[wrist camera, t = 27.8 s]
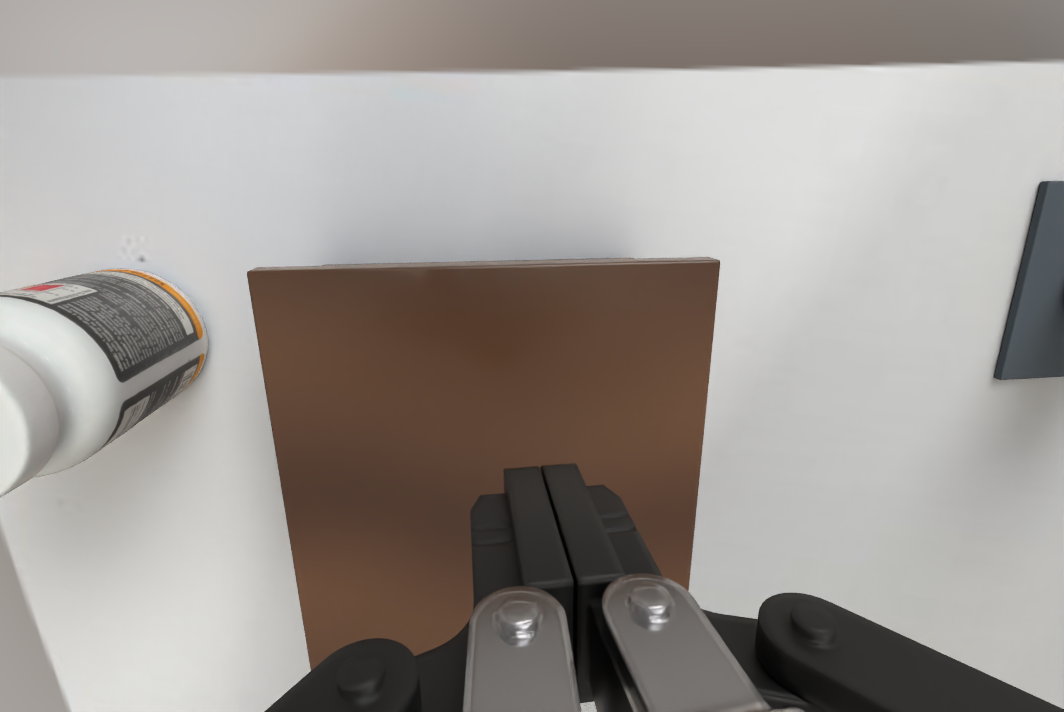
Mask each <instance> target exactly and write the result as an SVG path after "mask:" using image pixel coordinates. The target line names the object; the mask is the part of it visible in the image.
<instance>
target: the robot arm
mask: <svg viewBox="0 0 1064 712" xmlns="http://www.w3.org/2000/svg"><path fill="white" fill-rule="evenodd" d="M470 521H471V545H472V571H473V595H474V606H473V611H472V614H471V616H470V619H469V621H468V622H467V624H466V625H465V627H464V628H463V629H462V630H461V631H460V632H459V633H458V634H457V635H456V636H455V637H453V638H452V639H451V640H449V641H447V642H446V643H444V644H442V645H440V646H438V647H436V648H434V649H431V650H429V651H426V652H424V653H421V654H419V655H416V656H414V655H413V653H412V652H411V651H410V650H409V649H408V648H407V647H406V646H404V645H403V644H401V643H399V642H397V641H394V640H390V639H384V638H372V639H365V640H360V641H357V642H354V643H351V644H348V645H346V646H344V647H342V648H340V649H338V650H337V651H335V652H333V653H332V654H331V655H329V656H328V657H327V658H326V659H324V660H323V661H322V662H321V663H320V664H319V665H317V666H316V667H315V668H314V669H313V670H312V671H311V672H309V673H308V674H307V675H306V676H305V677H304V678H303V679H301V680H300V681H299V682H298V683H297V684H296V685H295V686H293V687H292V688H291V689H290V690H289V691H288V692H287V693H285V694H284V695H283V696H282V697H281V698H280V699H279V700H277V701H276V702H275V703H274V704H273V705H272V706H271V707H269V708H268V709H267V710H266V711H265V712H581V707H580V703H585V702H592V701H594V702H595V705H596V709H597V712H1064V709H1062V708H1059V707H1057V706H1055V705H1053V704H1051V703H1049V702H1046V701H1044V700H1042V699H1040V698H1038V697H1036V696H1033V695H1031V694H1029V693H1027V692H1025V691H1022V690H1020V689H1018V688H1016V687H1014V686H1012V685H1009V684H1007V683H1005V682H1003V681H1001V680H998V679H996V678H994V677H992V676H990V675H988V674H985V673H983V672H981V671H979V670H977V669H975V668H972V667H970V666H968V665H966V664H964V663H961V662H959V661H957V660H955V659H953V658H951V657H948V656H946V655H944V654H942V653H940V652H937V651H935V650H933V649H931V648H929V647H927V646H924V645H922V644H920V643H918V642H916V641H914V640H911V639H909V638H907V637H905V636H903V635H900V634H898V633H896V632H894V631H892V630H890V629H887V628H885V627H883V626H881V625H879V624H876V623H874V622H872V621H870V620H868V619H866V618H863V617H861V616H859V615H857V614H855V613H853V612H850V611H848V610H846V609H844V608H842V607H839V606H837V605H835V604H833V603H831V602H828V601H826V600H824V599H821V598H818V597H815V596H812V595H807V594H802V593H782V594H777V595H774V596H771V597H770V598H768V599H766V600H765V601H764V602H763V603H762V605H761V607H760V609H759V614H758V619H752V618H745V617H738V616H731V615H724V614H718V613H713V612H710V611H706V610H703V609H701V608H700V606H699V605H698V604H697V602H696V601H695V599H694V598H693V597H692V595H691V594H690V593H689V592H688V591H687V590H686V589H685V588H684V587H682V586H681V585H679V584H678V583H676V582H674V581H672V580H670V579H668V578H665V577H663V576H662V574H661V572H660V570H659V568H658V566H657V565H656V563H655V561H654V559H653V557H652V555H651V553H650V552H649V550H648V548H647V546H646V544H645V542H644V540H643V538H642V537H641V535H640V533H639V531H638V530H636V525H635V523H634V522H633V520H632V518H631V516H629V512H628V510H627V508H626V507H625V505H624V503H623V501H622V499H621V497H619V496H618V495H617V494H615V493H614V492H613V491H611V490H610V489H609V488H607V487H606V486H605V485H593V486H586V484H585V482H584V479H583V477H582V475H581V473H580V470H579V468H578V466H577V464H576V463H569V464H556V465H543V466H541V467H540V468H539V466H532V467H520V468H507V469H504V493H501V494H489V495H480V496H479V498H478V499H477V501H476V502H475V504H474V505H473V507H472V508H471V510H470Z"/></svg>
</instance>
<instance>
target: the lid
mask: <svg viewBox="0 0 1064 712" xmlns="http://www.w3.org/2000/svg"><path fill="white" fill-rule="evenodd" d="M719 269H720V261H719V260H717V259H713V258H710V257H691V258H647V259H604V260H560V261H516V262H473V263H429V264H385V265H342V266H298V267H258V268H255V269H253V270H250V271H248V272H247V277H248V283H249V290H250V296H251V302H252V308H253V314H254V321H255V327H256V333H257V339H258V345H259V352H260V358H261V364H262V370H263V376H264V383H265V389H266V395H267V401H268V407H269V414H270V420H271V426H272V432H273V438H274V445H275V451H276V457H277V463H278V469H279V476H280V482H281V488H282V494H283V500H284V507H285V513H286V519H287V525H288V532H289V538H290V544H291V550H292V556H293V563H294V569H295V575H296V581H297V587H298V594H299V600H300V606H301V612H302V618H303V625H304V631H305V637H306V643H307V649H308V656H309V662H310V668H311V671H312V670H313V669H314V668H315V667H316V666H317V665H319V664H320V663H321V662H322V661H323V660H324V659H326V658H327V657H328V656H329V655H331V654H332V653H333V652H335V651H337V650H338V649H340V648H342V647H344V646H346V645H348V644H351V643H354V642H357V641H360V640H365V639H372V638H384V639H390V640H394V641H397V642H399V643H401V644H403V645H404V646H406V647H407V648H408V649H409V650H410V651H411V652H412V653H413V655H414V656H416V655H419V654H421V653H424V652H426V651H429V650H431V649H434V648H436V647H438V646H440V645H442V644H444V643H446V642H447V641H449V640H451V639H452V638H453V637H455V636H456V635H457V634H458V633H459V632H460V631H461V630H462V629H463V628H464V627H465V625H466V624H467V622H468V621H469V619H470V616H471V614H472V611H473V606H474V595H473V571H472V545H471V521H470V510H471V508H472V507H473V505H474V504H475V502H476V501H477V499H478V498H479V496H480V495H489V494H501V493H504V469H507V468H520V467H532V466H539V468H540V467H541V466H543V465H556V464H569V463H576V464H577V466H578V468H579V470H580V473H581V475H582V477H583V479H584V482H585V484H586V486H593V485H605V486H606V487H607V488H609V489H610V490H611V491H613V492H614V493H615V494H617V495H618V496H619V497H621V499H622V501H623V503H624V505H625V507H626V508H627V510H628V512H629V516H631V518H632V520H633V522H634V523H635V525H636V530H638V531H639V533H640V535H641V537H642V538H643V540H644V542H645V544H646V546H647V548H648V550H649V552H650V553H651V555H652V557H653V559H654V561H655V563H656V565H657V566H658V568H659V570H660V572H661V574H662V576H663V577H665V578H668V579H670V580H672V581H674V582H676V583H678V584H679V585H681V586H682V587H684V588H685V589H686V590H687V591H688V590H689V579H690V569H691V559H692V548H693V538H694V528H695V517H696V507H697V496H698V486H699V476H700V465H701V455H702V445H703V434H704V424H705V414H706V403H707V393H708V383H709V372H710V362H711V352H712V341H713V331H714V321H715V310H716V300H717V290H718V279H719Z"/></svg>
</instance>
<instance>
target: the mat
mask: <svg viewBox="0 0 1064 712" xmlns="http://www.w3.org/2000/svg"><path fill="white" fill-rule="evenodd" d="M1061 376H1064V181H1047V182H1041V184H1040V188H1039V192H1038V196H1037V201H1036V205H1035V209H1034V213H1033V217H1032V222H1031V226H1030V230H1029V234H1028V238H1027V242H1026V247H1025V251H1024V255H1023V259H1022V263H1021V268H1020V272H1019V276H1018V280H1017V284H1016V288H1015V293H1014V297H1013V301H1012V305H1011V309H1010V314H1009V318H1008V322H1007V326H1006V330H1005V335H1004V339H1003V343H1002V347H1001V351H1000V355H999V360H998V364H997V368H996V372H995V376H994V378H996V379H999V380H1008V379H1026V378H1044V377H1061Z"/></svg>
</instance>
